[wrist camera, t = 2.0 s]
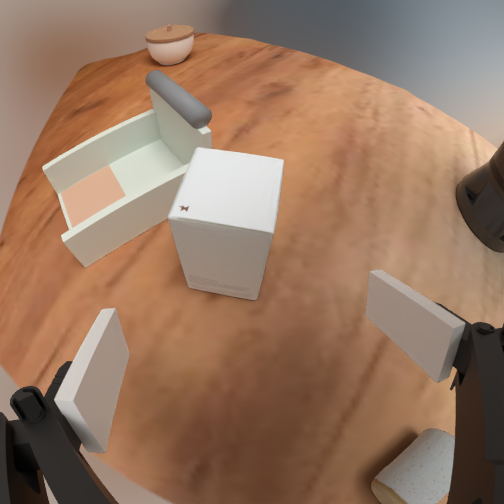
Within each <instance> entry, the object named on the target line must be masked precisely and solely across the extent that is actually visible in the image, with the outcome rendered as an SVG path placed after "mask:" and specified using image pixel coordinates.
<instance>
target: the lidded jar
mask: <svg viewBox="0 0 504 504" xmlns="http://www.w3.org/2000/svg"><path fill="white" fill-rule="evenodd" d="M145 38H146V41H147V48H148V51H149V53H150V55H151V57H152V58H153V59H154V60H156V61H157V62H159V63H160V64H162V65H173V64H177V63H180V62H182V61H184V60H185V58H186V57H187V56H188V55H189V53H190V52H191V50H192V47H193V42H194V28H193V27H191V26H188V25H167V26H165V27H161V28H157V29H155V30H152V31H150V32H149V33H147V34H146V37H145Z"/></svg>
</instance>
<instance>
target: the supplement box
mask: <svg viewBox="0 0 504 504" xmlns="http://www.w3.org/2000/svg"><path fill="white" fill-rule="evenodd" d="M283 167H284V160H282V159H276V158H271V157H265V156H259V155H253V154H246V153H239V152H231V151H223V150H216V149H209V148H201V147H197V148H196V150H195V152H194V154H193V156H192V159H191V161H190V163H189V166H188V168H187V170H186V173H185V175H184V177H183V179H182V181H181V185H180V187H179V190H178V192H177V195H176V197H175V200H174V202H173V205H172V207H171V210H170V212H169V214H168V220H169V224H170V228H171V231H172V235H173V238H174V242H175V245H176V249H177V252H178V255H179V259H180V262H181V265H182V269H183V272H184V275H185V278H186V281H187V284H188V287H189V288H192V289H197V290H202V291H207V292H212V293H217V294H222V295H227V296H233V297H238V298H244V299H249V300H257V298H258V295H259V291H260V287H261V283H262V279H263V275H264V270H265V266H266V262H267V258H268V254H269V250H270V246H271V242H272V238H273V234H274V230H275V226H276V220H277V215H278V208H279V201H280V194H281V186H282V177H283Z"/></svg>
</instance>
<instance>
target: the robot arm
mask: <svg viewBox="0 0 504 504" xmlns="http://www.w3.org/2000/svg"><path fill="white" fill-rule="evenodd" d="M456 196H457V202H458V205H459V208H460V210H461V213H462V215H463V217H464V218H465V220H466V222H467V223H468V225H469V227H470V228H471V229H472V231H473V232H474V233H475V234H476V236H477V237H478V238H479V239H480V240H481V241H482V242H483V243H484V244H486V245H487V246H488V247H490V248H491V249H493V250H495V251H498V252H504V142H503V143H502V144H501V146H500V147H499V149H498V150H497V151H496V152H495V154H494V155H493V157H492V158H491V159H490V161H489V162H488V163H486V164H485V165H483V166H481V167H480V168H478V169H476V170H474V171H473V172H471V173H469V174H468V175H466V176H465V177H464V178H463V179H462V181H461V182H460V183H459V185H458V186H457V190H456ZM366 317H367V318H368V319H369V320H370V321H371V322H373V323H374V324H375V325H376V326H377V327H378V328H379V329H380V330H381V331H382V332H383V333H384V334H385V335H387V336H388V337H389V338H390V339H391V340H392V341H393V342H394V343H395V344H396V345H397V346H398V347H399V348H400V349H401V350H402V351H404V352H405V353H406V354H407V355H408V356H409V357H410V358H411V359H412V360H413V361H414V362H415V363H416V364H417V365H418V366H419V367H420V368H421V369H422V370H423V371H425V372H426V373H427V374H428V375H429V376H430V377H431V378H432V379H433V380H434V381H435V382H436V383H438V382H440V381H442V380H444V379H446V378H448V377H449V375H450V372H451V369H452V366H454V367H455V368H456V369H457V372H456V375H455V377H454V380H453V383H452V385H451V388H450V390H453V387H454V386H455V387H456V426H455V445H454V458H453V467H452V476H451V483H450V490H449V496H448V501H447V504H504V324H503V327H502V328H498V329H495V328H494V327H493V326H492V325H490V324H487V323H483V322H477V323H474V324H473V325H472V324H470V323H469V322H467V321H466V320H464V319H463V318H461V317H460V316H458V315H457V314H455V313H453V312H452V311H450V310H448V309H447V308H446V307H444V306H443V305H441V304H439V303H436V302H433V301H431V300H429V299H428V298H426V297H425V296H423V295H422V294H420V293H418V292H417V291H415V290H414V289H412V288H410V287H409V286H407V285H406V284H404V283H402V282H401V281H399V280H397V279H396V278H394V277H393V276H391V275H389V274H388V273H386V272H384V271H383V270H381V269H379V270H374V271H369V282H368V296H367V307H366ZM129 356H130V353H129V350H128V347H127V344H126V341H125V337H124V334H123V331H122V328H121V324H120V321H119V318H118V314H117V311H116V308H110V309H102V310H101V312H100V313H99V315H98V317H97V319H96V320H95V322H94V324H93V325H92V327H91V329H90V331H89V333H88V334H87V336H86V338H85V340H84V342H83V343H82V345H81V347H80V349H79V351H78V353H77V355H76V356H75V358H74V360H73V361H67V362H66V363H65V364H63V365H62V366H61V367H60V368H59V370H58V371H57V373H56V375H55V378H54V379H53V381H52V384H51V385H50V387H49V388H48V390H47V392H46V394H45V396H44V397H43V395H42V393H41V391H40V390H39V389H38V388H37V387H34V386H27V387H23V388H21V389H19V390H18V391H16V392H15V393H14V394H13V395H12V397H11V399H10V405H11V407H12V409H13V410H14V412H15V413H16V414H17V416H18V417H19V420H12V421H8V419H7V418H6V417H5V415H4V414H3V413H2V412H0V504H49V500H48V496H47V493H46V488H45V483H44V478H43V475H44V477H45V479H46V481H47V483H48V485H49V487H50V489H51V491H52V493H53V494H54V497H55V498H56V500H57V502H58V504H119V503H118V502H117V501H116V500H115V499H114V497H113V496H112V495H111V494H110V493H109V491H108V490H107V489H106V487H105V486H104V485H103V484H102V482H101V481H100V479H99V478H98V477H97V475H96V474H95V473H94V471H93V470H92V468H91V467H90V466H89V464H88V463H87V461H86V460H85V458H84V457H83V455H82V454H81V452H80V451H79V449H80V445H81V443H82V444H83V446H84V447H85V449H86V450H87V451H88V452H96V453H106V450H107V445H108V440H109V435H110V430H111V426H112V421H113V417H114V413H115V409H116V405H117V401H118V397H119V393H120V389H121V385H122V381H123V377H124V374H125V370H126V366H127V363H128V359H129Z"/></svg>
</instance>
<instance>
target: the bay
mask: <svg viewBox="0 0 504 504" xmlns="http://www.w3.org/2000/svg"><path fill="white" fill-rule="evenodd" d="M146 84H147V85H148V86H149V87H150V93H151V99H152V105H153V109H151V110H149V111H147V112H144V113H142V114H140V115H137V116H135V117H133V118H131V119H129V120H126V121H124V122H122V123H120V124H118V125H116V126H114V127H112V128H110V129H108V130H106V131H104V132H102V133H100V134H98V135H96V136H94V137H92V138H90V139H88V140H87V141H85V142H83V143H81V144H79V145H78V146H76V147H74V148H72V149H71V150H69V151H67V152H65V153H64V154H62V155H60V156H59V157H57V158H55V159H54V160H52V161H51V162H49V163H47V164H46V165H44V166H43V171H44V173H45V174H46V176H47V178H48V180H49V181H50V183H51V184H52V186H53V188H54V189H55V191H56V193H57V194H58V197H59V200H60V203H61V207H62V210H63V213H64V216H65V219H66V222H67V225H68V228H69V231H67V232H66V233H64V234H63V235H61V237H62V240H63V242H64V244H65V245H66V246H67V247H68V248H69V250H70V251H71V252H72V253H73V254H74V256H75V257H76V258H77V259H78V260H79V261H80V262H81V264H82V265H83V266H84V267H85V268H86V267H88V266H90V265H91V264H93V263H94V262H96V261H97V260H99V259H101V258H102V257H104V256H105V255H107V254H109V253H110V252H112V251H113V250H115V249H117V248H118V247H120V246H122V245H123V244H125V243H126V242H128V241H130V240H131V239H133V238H135V237H136V236H138V235H140V234H142V233H143V232H145V231H147V230H148V229H150V228H152V227H154V226H155V225H157V224H159V223H161V222H162V221H164V220H166V219H168V214H169V212H170V210H171V207H172V205H173V202H174V200H175V197H176V195H177V192H178V190H179V187H180V185H181V181H182V179H183V177H184V175H185V173H186V170H187V168H188V166H189V163H190V161H191V159H192V156H193V154H194V152H195V150H196V148H197V147H201V148H209V149H212V133H211V130H210V129H209V128H208V127H207V126H206V125H207V124H208V123H209V122H210V120H211V118H212V112H211V111H210V110H209V109H208V108H207V107H206V106H205V105H203V104H202V103H201V102H200V101H198V100H197V99H196V98H195V97H193V96H192V95H191V94H190V93H188V92H187V91H186V90H184V89H183V88H182V87H181V86H179V85H178V84H177V83H175V82H174V81H173V80H171V79H170V78H169V77H167V76H166V75H165V74H163V73H162V72H161V71H159V70H154V71H152V72H150V73H149V74H148V75H147V77H146Z"/></svg>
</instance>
